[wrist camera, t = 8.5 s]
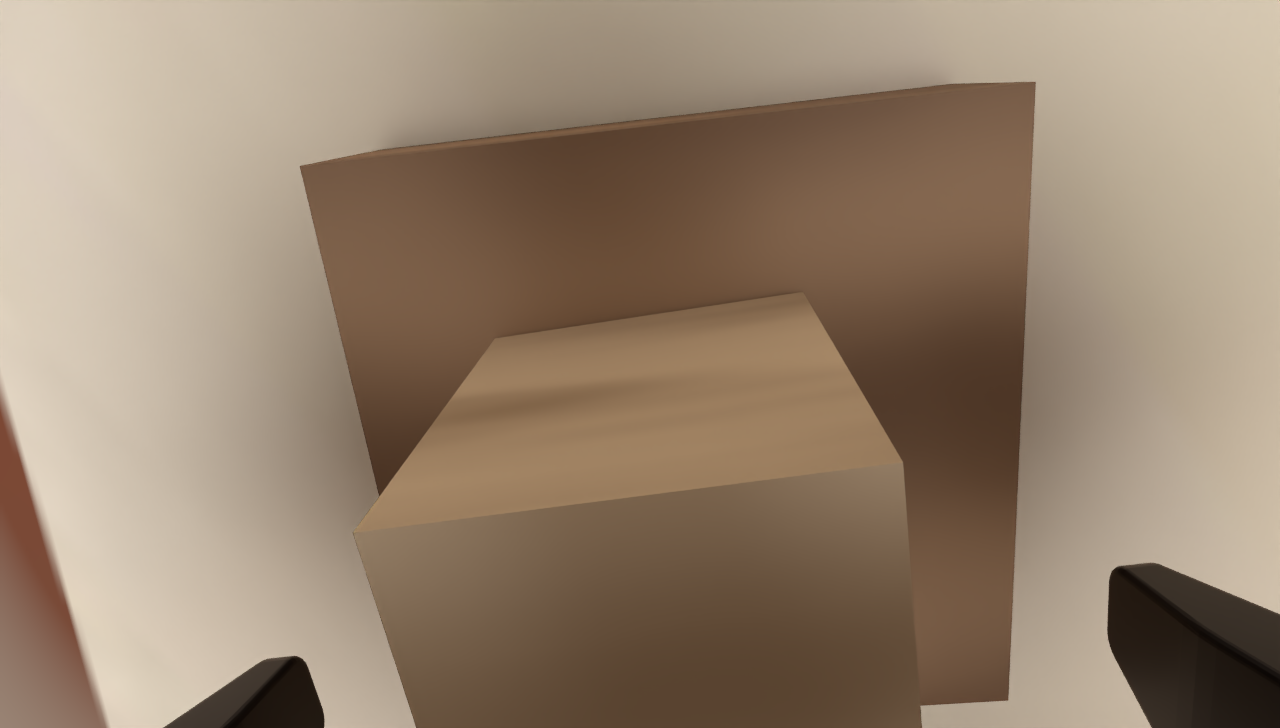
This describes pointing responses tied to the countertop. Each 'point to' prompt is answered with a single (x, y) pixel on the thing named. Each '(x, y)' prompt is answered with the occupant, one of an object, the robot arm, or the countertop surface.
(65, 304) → the countertop surface
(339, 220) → the walnut block
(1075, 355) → the countertop surface
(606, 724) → the maple block
